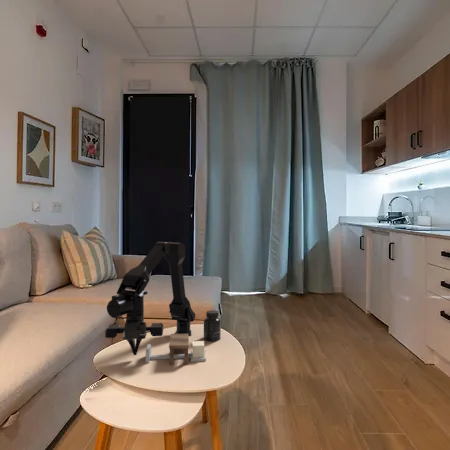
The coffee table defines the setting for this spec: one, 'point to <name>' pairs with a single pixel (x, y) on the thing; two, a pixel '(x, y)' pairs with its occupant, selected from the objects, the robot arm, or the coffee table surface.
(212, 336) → the supplement bottle
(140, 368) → the coffee table surface
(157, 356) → the grey flanged bar
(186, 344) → the walnut tunnel
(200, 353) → the cream block
